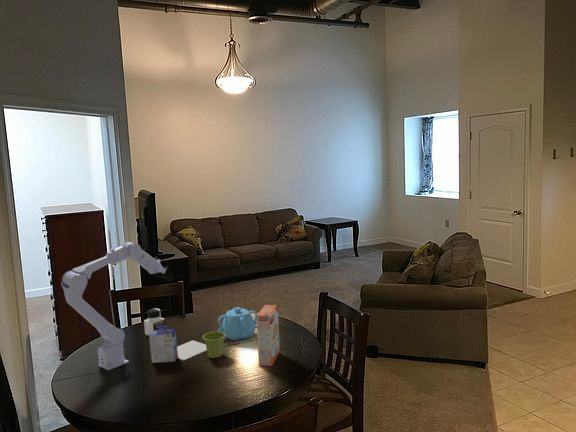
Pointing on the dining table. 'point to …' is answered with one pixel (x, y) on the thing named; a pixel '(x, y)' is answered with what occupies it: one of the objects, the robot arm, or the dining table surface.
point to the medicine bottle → (153, 321)
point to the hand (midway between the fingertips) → (168, 278)
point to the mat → (190, 350)
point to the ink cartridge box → (163, 345)
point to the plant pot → (214, 343)
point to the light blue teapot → (238, 324)
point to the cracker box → (268, 335)
